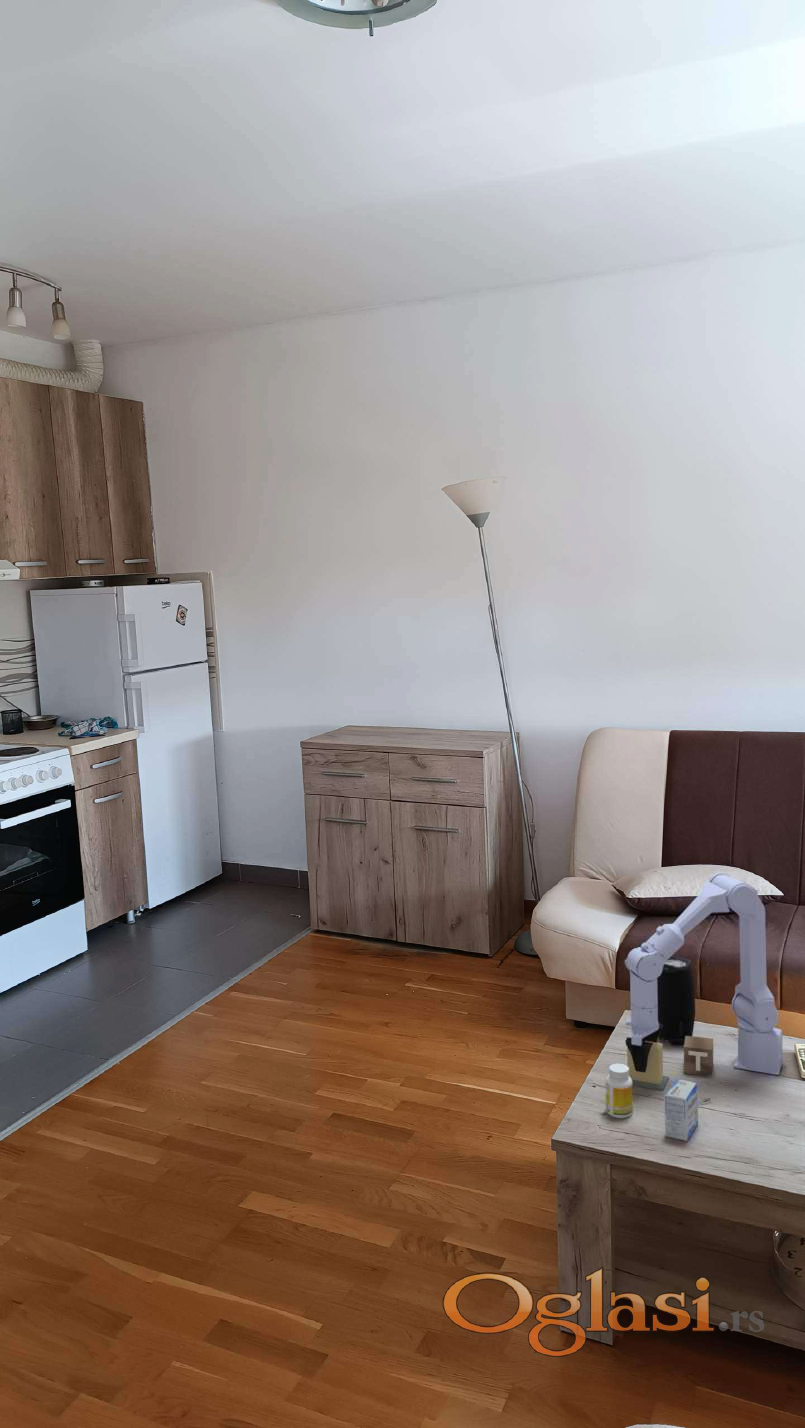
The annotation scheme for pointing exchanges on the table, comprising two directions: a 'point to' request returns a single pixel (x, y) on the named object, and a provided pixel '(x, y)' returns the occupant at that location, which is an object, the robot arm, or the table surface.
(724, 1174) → the table surface
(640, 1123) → the table surface
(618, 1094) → the supplement bottle
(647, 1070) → the cream rectangular block
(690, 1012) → the portable speaker
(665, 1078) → the mat
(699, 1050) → the letter cube
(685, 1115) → the medicine box
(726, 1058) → the table surface
